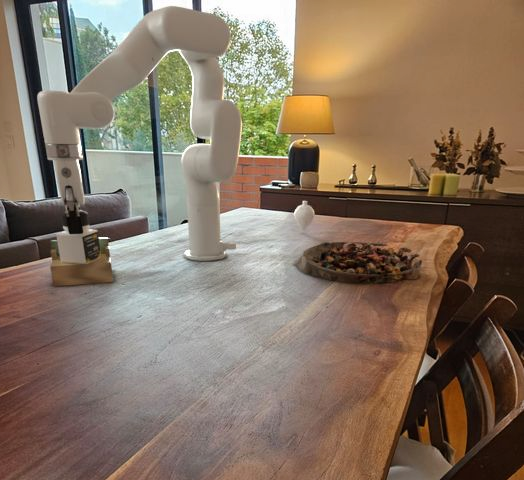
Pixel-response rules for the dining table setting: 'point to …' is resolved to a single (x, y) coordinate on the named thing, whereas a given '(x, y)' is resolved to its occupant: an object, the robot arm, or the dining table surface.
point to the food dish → (358, 263)
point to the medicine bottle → (78, 243)
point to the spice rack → (81, 268)
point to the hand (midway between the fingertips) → (76, 230)
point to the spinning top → (304, 215)
